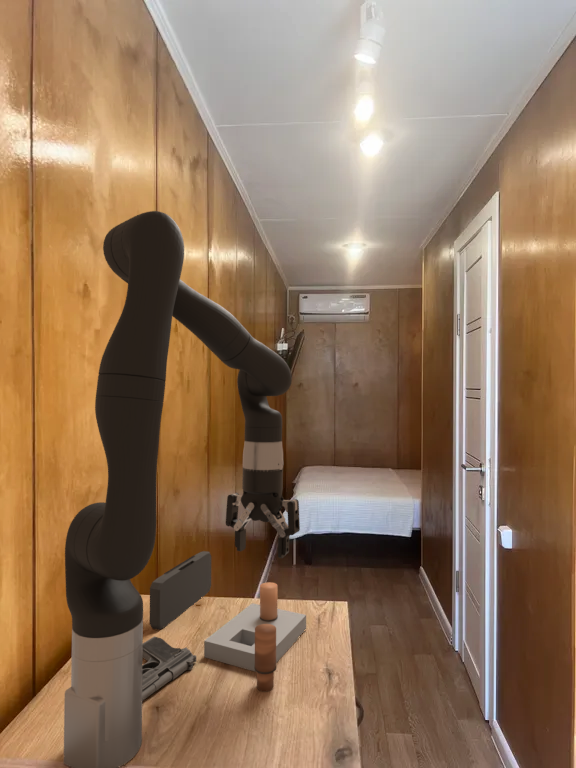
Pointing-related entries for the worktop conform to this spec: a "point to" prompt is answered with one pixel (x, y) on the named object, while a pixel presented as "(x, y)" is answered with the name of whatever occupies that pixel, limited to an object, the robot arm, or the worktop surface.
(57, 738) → the worktop surface
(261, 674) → the cherry peg
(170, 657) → the handgun
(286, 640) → the jig board
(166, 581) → the handheld gaming console
